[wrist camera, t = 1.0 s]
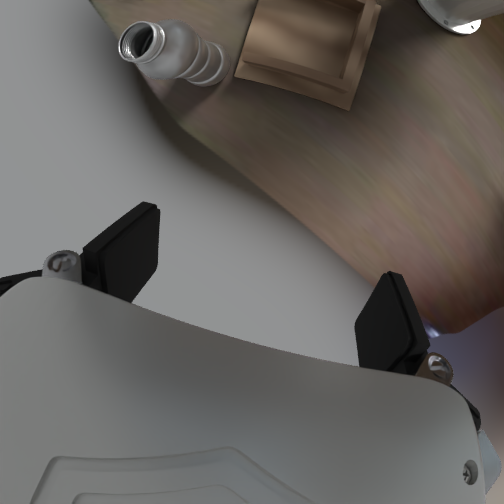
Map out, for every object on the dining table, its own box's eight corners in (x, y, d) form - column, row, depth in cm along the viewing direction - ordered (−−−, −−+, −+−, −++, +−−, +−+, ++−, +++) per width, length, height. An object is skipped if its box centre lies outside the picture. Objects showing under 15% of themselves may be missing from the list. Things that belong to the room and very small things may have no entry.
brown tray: (269, -24, 24) (264, -41, 18) (379, 8, 23) (390, -5, 18) (236, 77, 33) (225, 72, 28) (348, 110, 33) (356, 111, 28)
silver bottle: (185, 83, 34) (97, 77, 17) (197, 42, 31) (116, 7, 14) (226, 91, 34) (159, 82, 17) (239, 49, 31) (183, 5, 14)
